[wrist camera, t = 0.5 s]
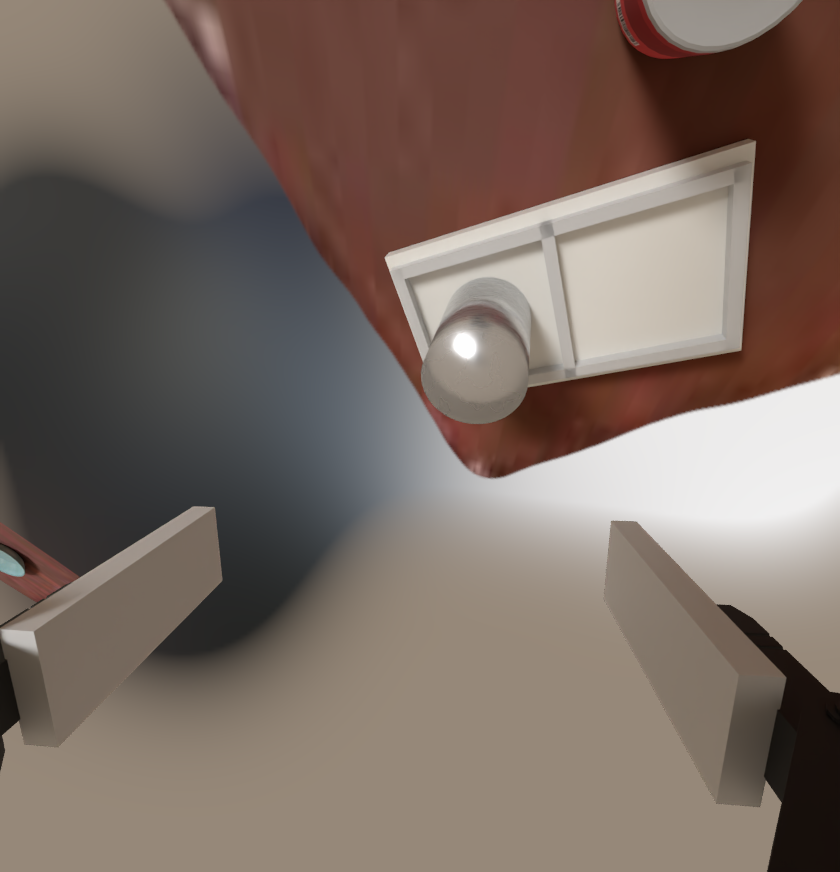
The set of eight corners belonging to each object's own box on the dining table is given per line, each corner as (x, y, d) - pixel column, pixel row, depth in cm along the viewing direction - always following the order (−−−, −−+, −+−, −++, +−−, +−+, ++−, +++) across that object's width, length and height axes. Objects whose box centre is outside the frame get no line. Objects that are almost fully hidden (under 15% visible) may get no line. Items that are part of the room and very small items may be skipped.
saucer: (-26, 541, 103) (-36, 549, 101) (-8, 530, 97) (-18, 539, 95) (21, 571, 108) (12, 579, 106) (41, 563, 102) (32, 571, 101)
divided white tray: (389, 252, 41) (380, 261, 39) (748, 138, 31) (762, 143, 29) (440, 395, 50) (436, 409, 48) (735, 342, 40) (746, 357, 38)
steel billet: (434, 290, 41) (406, 344, 33) (521, 266, 38) (515, 319, 30) (458, 365, 45) (439, 430, 37) (538, 348, 42) (537, 415, 34)
